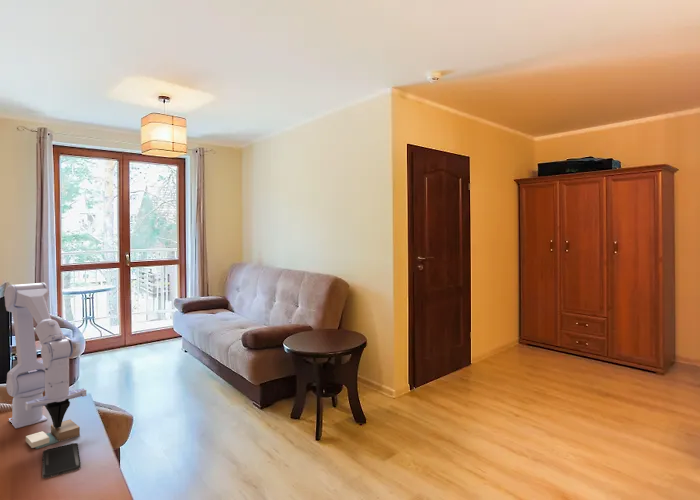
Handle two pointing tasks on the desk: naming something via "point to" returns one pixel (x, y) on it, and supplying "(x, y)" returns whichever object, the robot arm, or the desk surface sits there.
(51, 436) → the mat
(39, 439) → the cream rectangular block
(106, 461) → the desk surface
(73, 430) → the block
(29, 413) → the robot arm
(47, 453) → the phone
